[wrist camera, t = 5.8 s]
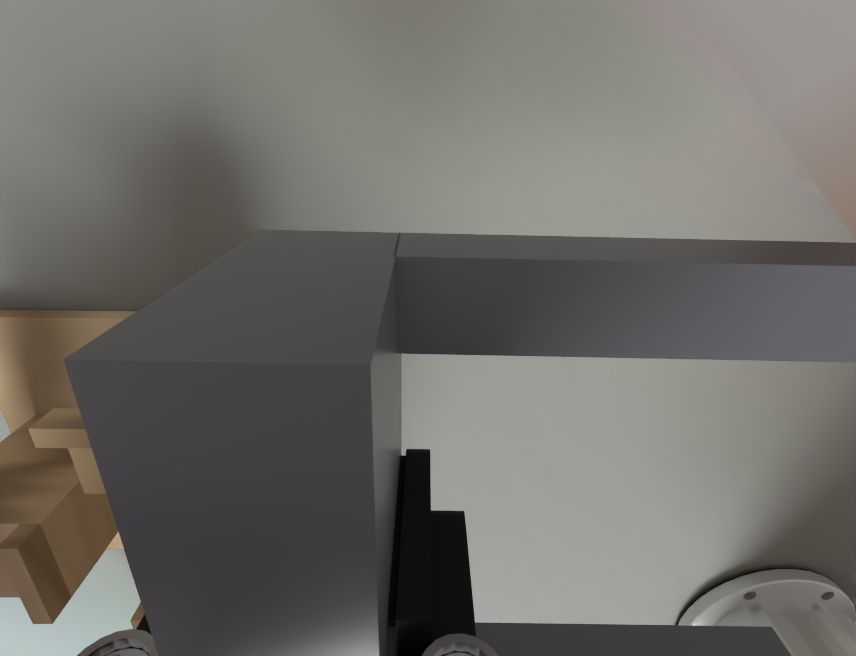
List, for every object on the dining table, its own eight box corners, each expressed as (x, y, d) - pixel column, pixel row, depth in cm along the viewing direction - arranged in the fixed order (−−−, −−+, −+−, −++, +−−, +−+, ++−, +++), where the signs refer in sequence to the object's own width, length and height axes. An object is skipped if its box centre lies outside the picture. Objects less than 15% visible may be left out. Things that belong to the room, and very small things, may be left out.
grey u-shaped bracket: (311, 658, 13) (250, 943, 9) (260, 229, 8) (63, 358, 4) (754, 664, 13) (924, 946, 9) (952, 245, 9) (1554, 387, 4)
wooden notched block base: (312, 313, 25) (253, 425, 16) (331, 536, 31) (297, 702, 23) (-21, 309, 24) (-271, 421, 16) (70, 536, 31) (-69, 704, 22)
